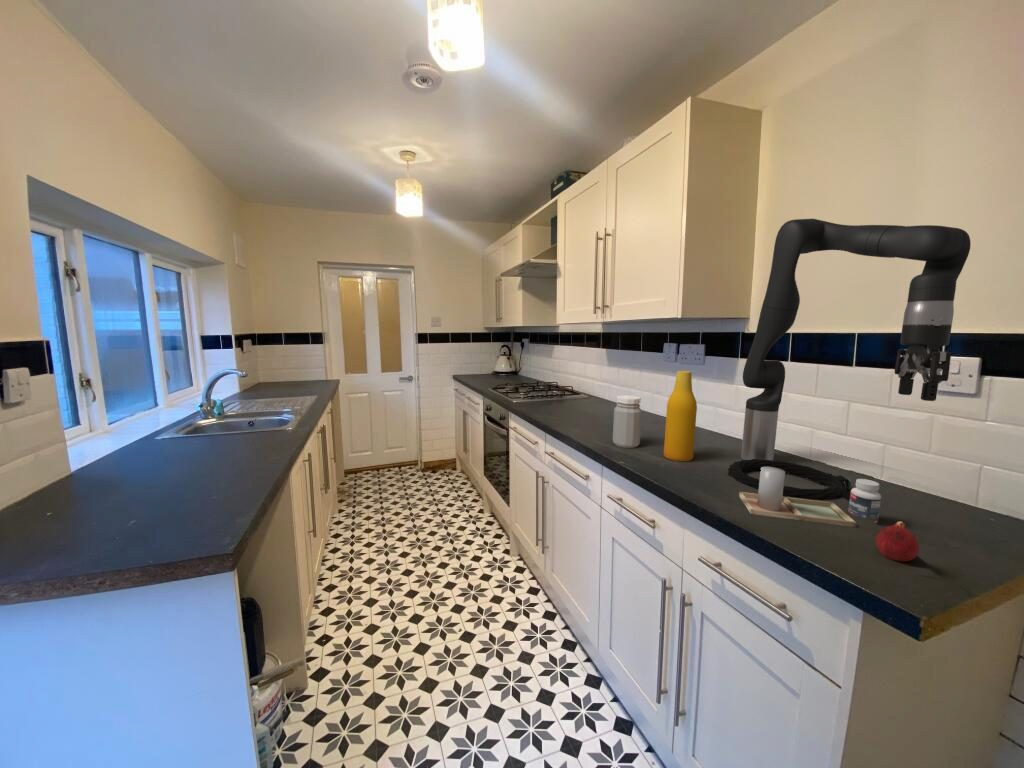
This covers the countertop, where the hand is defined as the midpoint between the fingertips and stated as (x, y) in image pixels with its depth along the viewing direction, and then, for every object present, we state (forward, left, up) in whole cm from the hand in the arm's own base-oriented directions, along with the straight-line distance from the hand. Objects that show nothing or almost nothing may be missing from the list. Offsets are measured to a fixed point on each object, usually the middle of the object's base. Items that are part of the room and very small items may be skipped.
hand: (915, 397), depth 90 cm
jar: (-42, -61, -29) cm, 80 cm away
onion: (+23, -12, -29) cm, 38 cm away
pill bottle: (+3, -8, -29) cm, 30 cm away
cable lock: (-16, -17, -29) cm, 37 cm away
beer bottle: (-32, -44, -29) cm, 62 cm away
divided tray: (+6, -23, -28) cm, 37 cm away
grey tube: (+6, -28, -27) cm, 39 cm away
